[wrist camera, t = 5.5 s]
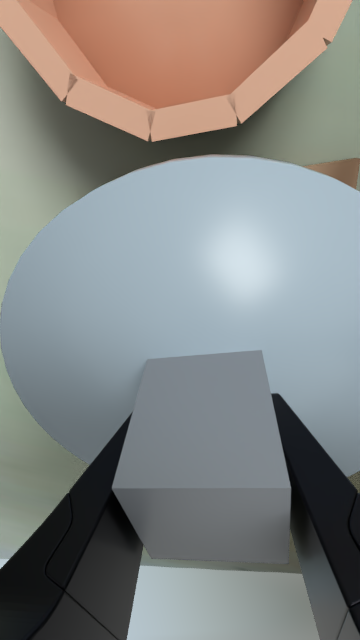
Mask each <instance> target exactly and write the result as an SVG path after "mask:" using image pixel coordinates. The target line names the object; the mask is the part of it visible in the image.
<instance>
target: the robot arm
mask: <svg viewBox="0 0 360 640" xmlns="http://www.w3.org/2000/svg"><path fill="white" fill-rule="evenodd" d="M271 396H272V401H273V406H274V410H275V415H276V420H277V424H278V429H279V434H280V438H281V443H282V448H283V453H284V457H285V462H286V467H287V471H288V476H289V481H290V486H291V505H290V530H291V533H292V537H293V541H294V545H295V548H296V552H297V556H298V559H299V563H300V567H301V571H302V574H303V578H304V581H305V585H306V588H307V593H308V596H309V600H310V604H311V608H312V611H313V615H314V619H315V622H316V626H317V630H318V633H319V637H320V640H360V493H358V491H357V489H356V488H355V487H354V485H353V484H352V483H351V482H350V481H349V479H348V478H347V477H346V476H345V474H344V473H343V472H342V471H341V469H340V468H339V467H338V466H337V464H336V463H335V462H334V461H333V459H332V458H331V457H330V456H329V454H328V453H327V452H326V451H325V450H324V448H323V447H322V446H321V445H320V443H319V442H318V441H317V440H316V438H315V437H314V436H313V435H312V433H311V432H310V431H309V430H308V428H307V427H306V426H305V425H304V423H303V422H302V421H301V420H300V419H299V417H298V416H297V415H296V414H295V412H294V411H293V410H292V409H291V407H290V406H289V405H288V404H287V402H286V401H285V400H284V399H283V397H282V396H281V395H280V394H278V393H271ZM132 413H133V412H132ZM132 413H131V414H130V415H129V417H128V418H127V419H126V420H125V422H124V423H123V424H122V425H121V427H120V428H119V429H118V430H117V432H116V433H115V434H114V435H113V437H112V438H111V439H110V440H109V442H108V443H107V444H106V445H105V447H104V448H103V449H102V450H101V452H100V453H99V454H98V456H97V457H96V458H95V459H94V461H93V462H92V463H91V464H90V466H89V467H88V468H87V469H86V471H85V472H84V473H83V474H82V476H81V477H80V478H79V479H78V481H77V482H76V483H75V484H74V486H73V487H72V488H71V489H70V491H69V493H67V494H66V495H65V497H64V498H63V499H62V500H61V502H60V503H59V504H58V505H57V507H56V508H55V509H54V510H53V511H52V513H51V514H50V515H49V516H48V517H47V519H46V520H45V521H44V522H43V523H42V524H41V526H40V527H39V528H38V529H37V530H36V531H35V532H34V533H33V534H32V536H31V537H30V538H29V539H28V540H27V541H26V542H25V543H24V544H23V545H22V546H21V548H20V549H19V550H18V551H17V552H16V553H15V554H14V555H13V556H12V557H11V558H10V559H9V560H8V561H7V563H6V564H5V565H4V566H3V567H2V568H1V569H0V640H126V639H127V634H128V628H129V623H130V617H131V612H132V606H133V601H134V595H135V589H136V583H137V578H138V572H139V567H140V561H141V556H142V550H143V543H142V541H141V540H140V538H139V536H138V534H137V533H136V531H135V529H134V527H133V525H132V524H131V522H130V520H129V518H128V517H127V515H126V513H125V511H124V510H123V508H122V506H121V504H120V502H119V501H118V499H117V497H116V495H115V494H114V492H113V490H112V485H113V481H114V478H115V474H116V471H117V467H118V463H119V460H120V456H121V452H122V449H123V445H124V442H125V438H126V434H127V431H128V427H129V424H130V420H131V416H132Z"/></svg>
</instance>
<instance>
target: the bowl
mask: <svg viewBox="0 0 360 640" xmlns="http://www.w3.org/2000/svg"><path fill="white" fill-rule="evenodd" d="M351 2H352V0H0V27H1V28H2V29H3V30H4V32H5V33H6V34H7V35H8V37H9V38H10V39H11V40H12V41H13V43H14V44H15V45H16V46H17V48H18V49H19V50H20V51H21V53H22V54H23V55H24V56H25V57H26V59H27V60H28V61H29V62H30V64H31V65H32V66H33V67H34V68H35V70H36V71H37V72H38V73H39V75H40V76H41V77H42V78H43V79H44V81H45V82H46V83H47V84H48V86H49V87H50V88H51V89H52V91H53V92H54V93H55V94H56V95H57V97H58V98H59V99H60V100H61V102H66V105H67V106H69V107H72V108H74V109H76V110H78V111H81V112H83V113H85V114H87V115H90V116H92V117H94V118H96V119H99V120H101V121H103V122H105V123H108V124H110V125H112V126H114V127H117V128H119V129H121V130H123V131H126V132H128V133H130V134H132V135H135V136H137V137H139V138H142V139H144V140H146V141H150V140H152V142H154V141H159V140H164V139H170V138H175V137H180V136H186V135H191V134H197V133H202V132H207V131H213V130H218V129H223V128H229V127H234V126H237V123H240V124H242V123H243V122H244V121H245V120H246V119H247V118H249V117H250V116H251V115H252V114H253V113H254V112H255V111H256V110H258V109H259V108H260V107H261V106H262V105H263V104H264V103H266V102H267V101H268V100H269V99H270V98H271V97H272V96H273V95H275V94H276V93H277V92H278V91H279V90H280V89H281V88H283V87H284V86H285V85H286V84H287V83H288V82H289V81H290V80H292V79H293V78H294V77H295V76H296V75H297V74H298V73H300V72H301V71H302V70H303V69H304V68H305V67H306V66H308V65H309V64H310V63H311V62H312V61H313V60H314V59H315V58H317V57H318V56H319V55H320V54H321V53H322V52H323V51H325V50H326V49H327V45H328V44H330V43H331V42H332V41H333V39H334V37H335V35H336V33H337V31H338V29H339V27H340V25H341V23H342V21H343V19H344V17H345V15H346V13H347V11H348V9H349V7H350V5H351Z"/></svg>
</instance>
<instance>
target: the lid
mask: <svg viewBox="0 0 360 640" xmlns="http://www.w3.org/2000/svg"><path fill="white" fill-rule="evenodd" d="M0 337H1V349H2V353H3V357H4V361H5V365H6V369H7V372H8V374H9V377H10V379H11V382H12V384H13V386H14V389H15V390H16V392H17V394H18V395H19V397H20V399H21V401H22V402H23V404H24V406H25V407H26V408H27V410H28V411H29V412H30V414H31V415H32V416H33V418H34V419H35V420H36V421H37V422H38V424H39V425H40V426H41V427H42V428H43V429H44V430H45V431H46V432H47V433H48V434H49V435H50V436H51V437H52V438H53V439H55V440H56V441H57V442H58V443H59V444H60V445H62V446H63V447H64V448H65V449H67V450H68V451H70V452H71V453H72V454H74V455H75V456H77V457H78V458H79V459H81V460H83V461H84V462H86V463H88V464H89V465H90V464H91V463H92V462H93V461H94V459H95V458H96V457H97V456H98V454H99V453H100V452H101V450H102V449H103V448H104V447H105V445H106V444H107V443H108V442H109V440H110V439H111V438H112V437H113V435H114V434H115V433H116V432H117V430H118V429H119V428H120V427H121V425H122V424H123V423H124V422H125V420H126V419H127V418H128V417H129V415H130V414H131V413H132V412H133V413H132V416H131V420H130V424H129V427H128V431H127V434H126V438H125V442H124V445H123V449H122V452H121V456H120V460H119V463H118V467H117V471H116V474H115V478H114V481H113V485H112V490H113V492H114V494H115V495H116V497H117V499H118V501H119V502H120V504H121V506H122V508H123V510H124V511H125V513H126V515H127V517H128V518H129V520H130V522H131V524H132V525H133V527H134V529H135V531H136V533H137V534H138V536H139V538H140V540H141V541H142V543H143V545H144V547H145V548H146V550H147V552H148V554H149V556H150V557H151V559H176V560H201V561H226V562H251V563H276V564H289V537H290V505H291V486H290V481H289V476H288V471H287V467H286V462H285V457H284V453H283V448H282V443H281V438H280V434H279V429H278V424H277V420H276V415H275V410H274V406H273V401H272V396H271V393H278V394H280V395H281V396H282V397H283V399H284V400H285V401H286V402H287V404H288V405H289V406H290V407H291V409H292V410H293V411H294V412H295V414H296V415H297V416H298V417H299V419H300V420H301V421H302V422H303V423H304V425H305V426H306V427H307V428H308V430H309V431H310V432H311V433H312V435H313V436H314V437H315V438H316V440H317V441H318V442H319V443H320V445H321V446H322V447H323V448H324V450H325V451H326V452H327V453H328V454H329V456H330V457H331V458H332V459H333V461H334V462H335V463H336V464H337V466H338V467H339V468H340V469H341V471H342V472H343V473H344V474H345V476H346V477H348V476H351V475H353V474H354V473H356V472H358V471H360V192H359V191H357V190H356V189H354V188H352V187H350V186H348V185H346V184H344V183H342V182H341V181H338V180H336V179H334V178H332V177H330V176H328V175H326V174H323V173H320V172H317V171H314V170H311V169H308V168H305V167H302V166H299V165H296V164H293V163H291V162H286V161H280V160H274V159H269V158H263V157H257V156H252V155H217V154H210V155H202V156H194V157H186V158H178V159H172V160H168V161H164V162H161V163H157V164H154V165H150V166H146V167H143V168H139V169H136V170H134V171H132V172H130V173H127V174H125V175H123V176H121V177H118V178H116V179H114V180H112V181H110V182H107V183H105V184H103V185H102V186H100V187H98V188H97V189H95V190H93V191H91V192H90V193H88V194H87V195H85V196H84V197H82V198H81V199H79V200H78V201H76V202H75V203H73V204H72V205H70V206H69V207H67V208H65V209H64V210H62V211H61V212H60V213H59V214H58V215H57V216H56V217H55V218H54V219H53V220H52V221H51V222H49V223H48V224H47V225H46V226H45V227H44V228H43V229H42V230H41V231H40V232H39V233H38V234H37V235H36V237H35V238H34V239H33V241H32V242H31V243H30V245H29V246H28V247H27V249H26V250H25V251H24V253H23V254H22V255H21V257H20V259H19V261H18V263H17V265H16V267H15V269H14V271H13V273H12V275H11V277H10V279H9V281H8V285H7V288H6V292H5V295H4V299H3V302H2V308H1V319H0Z"/></svg>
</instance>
